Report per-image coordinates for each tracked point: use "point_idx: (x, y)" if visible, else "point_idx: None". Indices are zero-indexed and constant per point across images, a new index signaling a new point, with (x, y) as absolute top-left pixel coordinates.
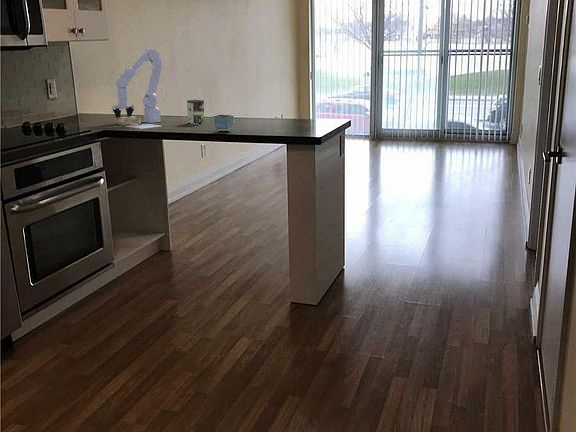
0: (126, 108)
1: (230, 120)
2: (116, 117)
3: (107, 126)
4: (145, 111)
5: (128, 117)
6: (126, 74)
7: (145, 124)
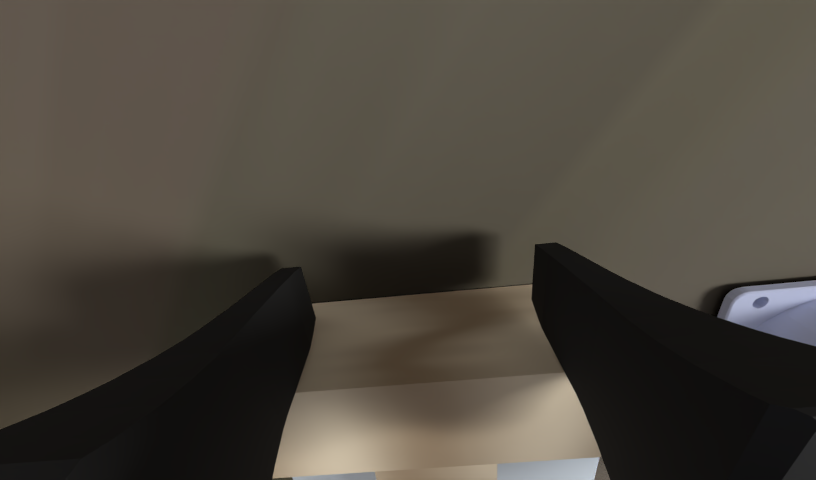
0: (804, 455)
1: None
2: (237, 308)
3: (73, 385)
4: None
5: (416, 464)
6: None
7: (542, 470)
